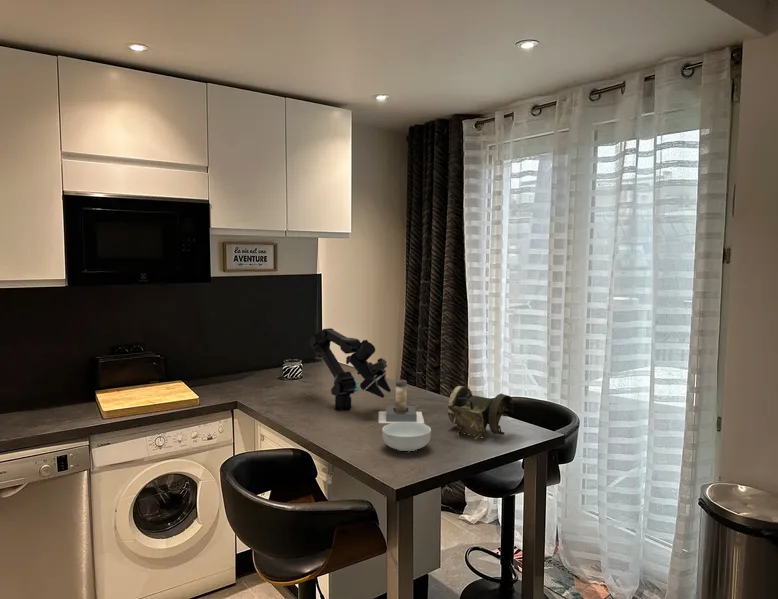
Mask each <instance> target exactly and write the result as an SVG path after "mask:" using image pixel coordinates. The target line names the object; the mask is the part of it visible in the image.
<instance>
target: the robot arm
mask: <svg viewBox="0 0 778 599" xmlns="http://www.w3.org/2000/svg"><path fill="white" fill-rule="evenodd" d="M308 342H309V345H310V348H311V349H312V350H313V351H314V352H315V353H317V354H319V356H321V359H323V361H324V362H325V364H326V365H325V366H327V368H328V369H329V372H330V374H332V376H333V386H332V387H331V389H330V392H331V395H332V396H334V400H335V401H334V402H335V403H334V410H336V411H350V410H351V408H352V396H351V394H352V395H353V394H354V393H355V392H356V391H355V387H356V385H357V384H356V379H355V377H354V376H353V375H352V373H351V371H344V368H342V366H341V364H340V363H339V361H338V358H336V356H335V354H334V353H333V351H332V349H331V342H332V343H333V344H336V345H337V346H339V348H340V351H342V352H343V353H344V354H346V355H347V354H350V355H348V356H347V357H346V358H345V359H346V360H345V363H346V365H348V364H350V365H352V367H354V369H355V370H356V373H357V375H361V377H362V378H363V380H362V381H361V382H360V384H359V387H360V389H361V390H362V391H365V392H368V393H370V394H373V395H376V396H377V397H379V398H381V399H383V398H385V394H384V393H383V391H382V390H381V389H383V390H384V391H386V392H387V393H391V391H392V390H391V387H390V385H389V384H388V382H387V379H386V378H387V371H386V368H388V364H387V363H388V361H386V360H385V358H383V357H381V358H378V359H377V362H374V363H372V362H371V361H368V360H369V359H370V358H371V357H372V355H374V354H375V352H376V347H375V345H374V344H372V343H371V342H369V341H368V339H363V340H362V341H360V339H358V338H355V337H348V336H345V335H343V334H342V333H340V332H338V331H336V330H334V328H330V327H329V328H323V329H321V330H320V331H319V332H317V333H315V334H314V335H312V336H311V337H310V339H309V341H308ZM354 379H355V380H354Z"/></svg>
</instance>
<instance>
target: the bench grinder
mask: <svg viewBox="0 0 778 599" xmlns="http://www.w3.org/2000/svg"><path fill="white" fill-rule="evenodd" d="M514 409H515V407H514V401H513V398H512V397H511V396H510V395H507V394H503V393H499V394H497V395H496V396H495V397H494V398H493V399H492V398H490V397H483V396H479V395H473V393H472V391H471V389H470V388H469V387H468V386H461V385H458V386H456V387H455V388H453V390H451V393H450V396H449V399H448V402H447V416H448V419H449V421H450V422H451V423H452V424H455V425H456V428H457V433H456V436H459V434H462V433H465V434H464V435H466V434H470V435H475V436H477V437H474V440H477V439H478V437H483V438H486V439H487V436H488V434H487V431H486V429H487V426H488V427H489V430H490V431H491V433H492V434H495V435H498V436H504V435H505V432H503V431H502V428H501V425H499V423H500V420H501V417H508V414H507V413H504V412H510V413H514ZM459 432H461V433H459ZM470 435H469V436H470Z"/></svg>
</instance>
